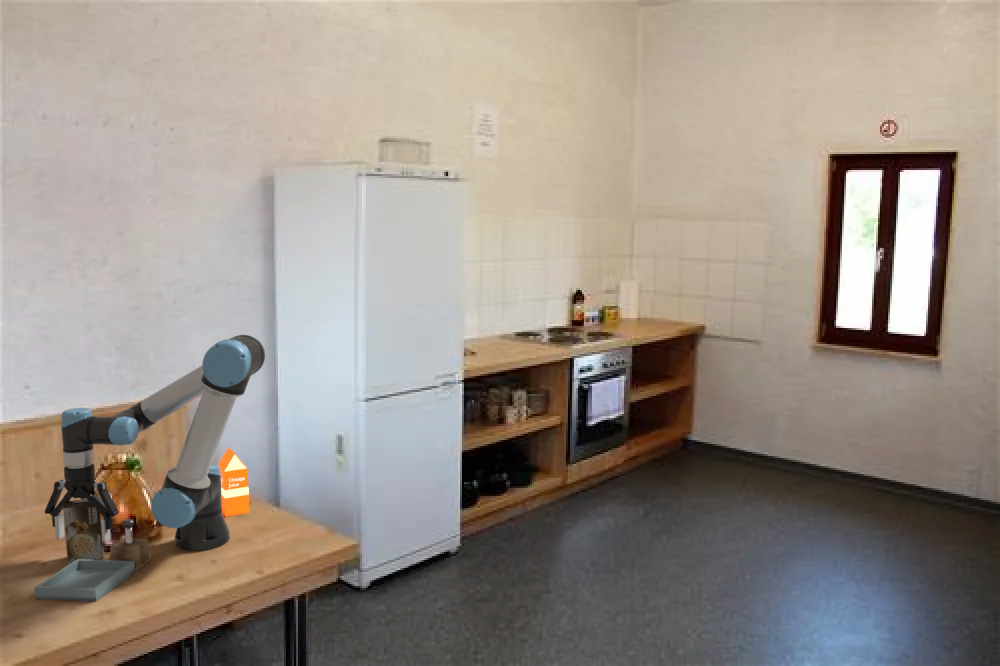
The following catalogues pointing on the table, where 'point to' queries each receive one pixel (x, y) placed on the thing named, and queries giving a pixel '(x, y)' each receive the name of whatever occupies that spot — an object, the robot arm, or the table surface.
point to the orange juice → (234, 485)
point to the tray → (84, 580)
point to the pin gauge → (128, 531)
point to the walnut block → (131, 551)
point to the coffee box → (82, 530)
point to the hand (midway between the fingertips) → (83, 539)
